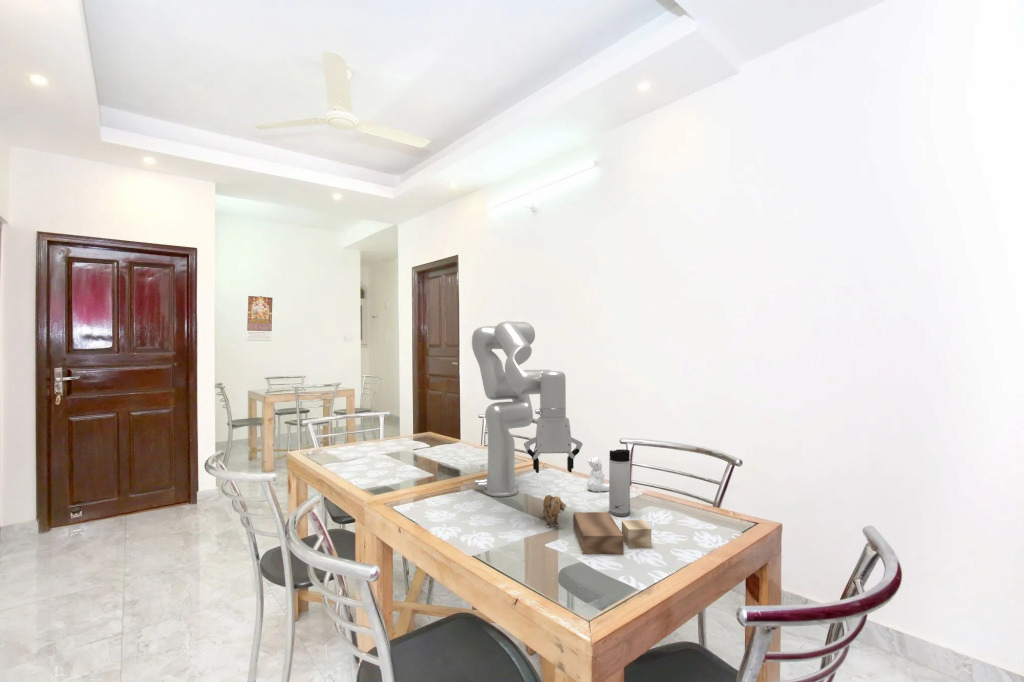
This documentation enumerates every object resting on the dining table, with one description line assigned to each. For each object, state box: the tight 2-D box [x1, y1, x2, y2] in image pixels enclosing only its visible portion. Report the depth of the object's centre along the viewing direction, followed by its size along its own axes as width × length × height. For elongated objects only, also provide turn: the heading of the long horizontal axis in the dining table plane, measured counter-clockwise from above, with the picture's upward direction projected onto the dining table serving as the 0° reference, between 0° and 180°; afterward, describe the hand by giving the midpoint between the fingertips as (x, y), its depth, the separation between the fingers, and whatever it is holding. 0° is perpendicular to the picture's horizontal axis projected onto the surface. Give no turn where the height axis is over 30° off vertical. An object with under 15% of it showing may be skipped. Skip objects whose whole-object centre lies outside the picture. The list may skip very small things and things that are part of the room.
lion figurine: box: [541, 494, 567, 527], centre depth 135 cm, size 15×5×9 cm, turn 14°
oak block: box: [621, 519, 652, 549], centre depth 120 cm, size 6×6×5 cm
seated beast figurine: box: [586, 456, 609, 492], centre depth 164 cm, size 10×9×12 cm
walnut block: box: [572, 511, 625, 555], centre depth 122 cm, size 10×16×5 cm, turn 1°
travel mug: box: [608, 449, 631, 518], centre depth 141 cm, size 6×7×20 cm
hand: (553, 471), depth 134 cm, fingers open, 9 cm apart
